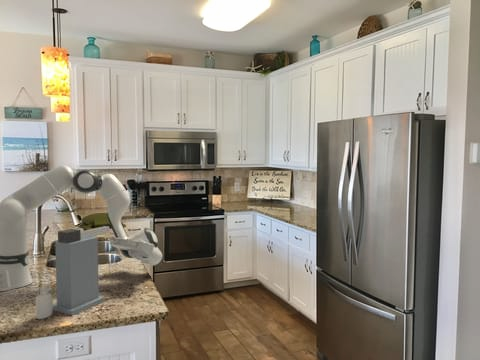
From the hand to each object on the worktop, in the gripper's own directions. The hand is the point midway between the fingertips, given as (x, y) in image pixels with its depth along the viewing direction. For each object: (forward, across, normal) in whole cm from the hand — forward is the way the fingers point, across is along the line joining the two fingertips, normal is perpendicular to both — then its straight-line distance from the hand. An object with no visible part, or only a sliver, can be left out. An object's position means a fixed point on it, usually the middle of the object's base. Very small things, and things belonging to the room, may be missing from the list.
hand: (119, 239), depth 170 cm
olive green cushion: (-99, -117, -31) cm, 156 cm away
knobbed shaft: (+18, 0, +5) cm, 18 cm away
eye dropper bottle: (+20, -2, +37) cm, 42 cm away
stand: (+8, 0, +30) cm, 31 cm away
